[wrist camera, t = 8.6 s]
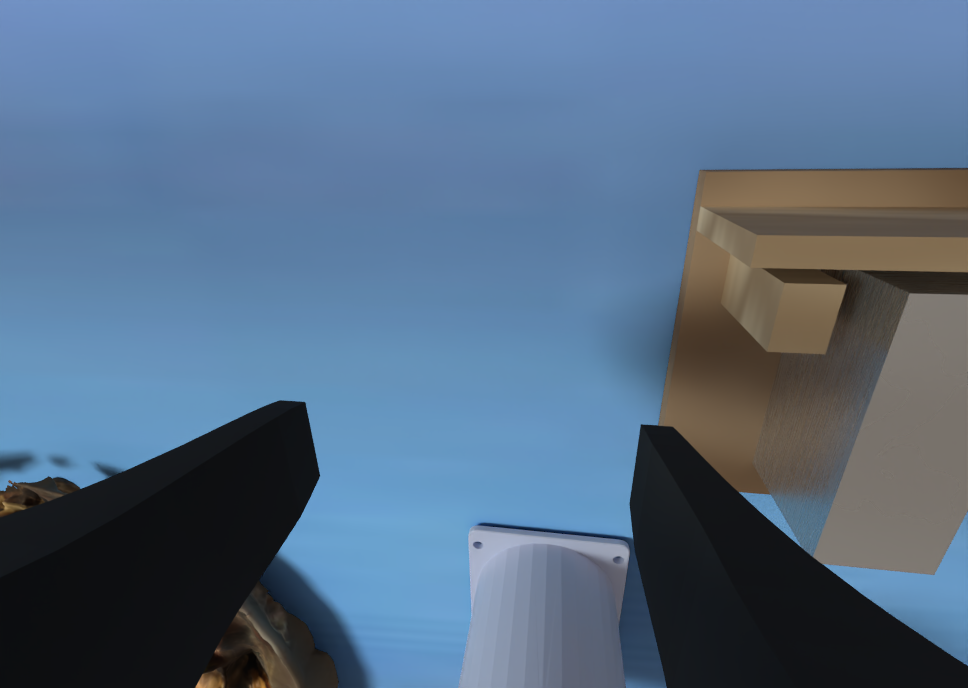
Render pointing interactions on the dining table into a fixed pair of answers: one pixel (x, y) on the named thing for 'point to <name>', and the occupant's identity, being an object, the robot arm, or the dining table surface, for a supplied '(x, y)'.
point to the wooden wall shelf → (788, 284)
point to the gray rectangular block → (876, 425)
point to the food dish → (251, 635)
